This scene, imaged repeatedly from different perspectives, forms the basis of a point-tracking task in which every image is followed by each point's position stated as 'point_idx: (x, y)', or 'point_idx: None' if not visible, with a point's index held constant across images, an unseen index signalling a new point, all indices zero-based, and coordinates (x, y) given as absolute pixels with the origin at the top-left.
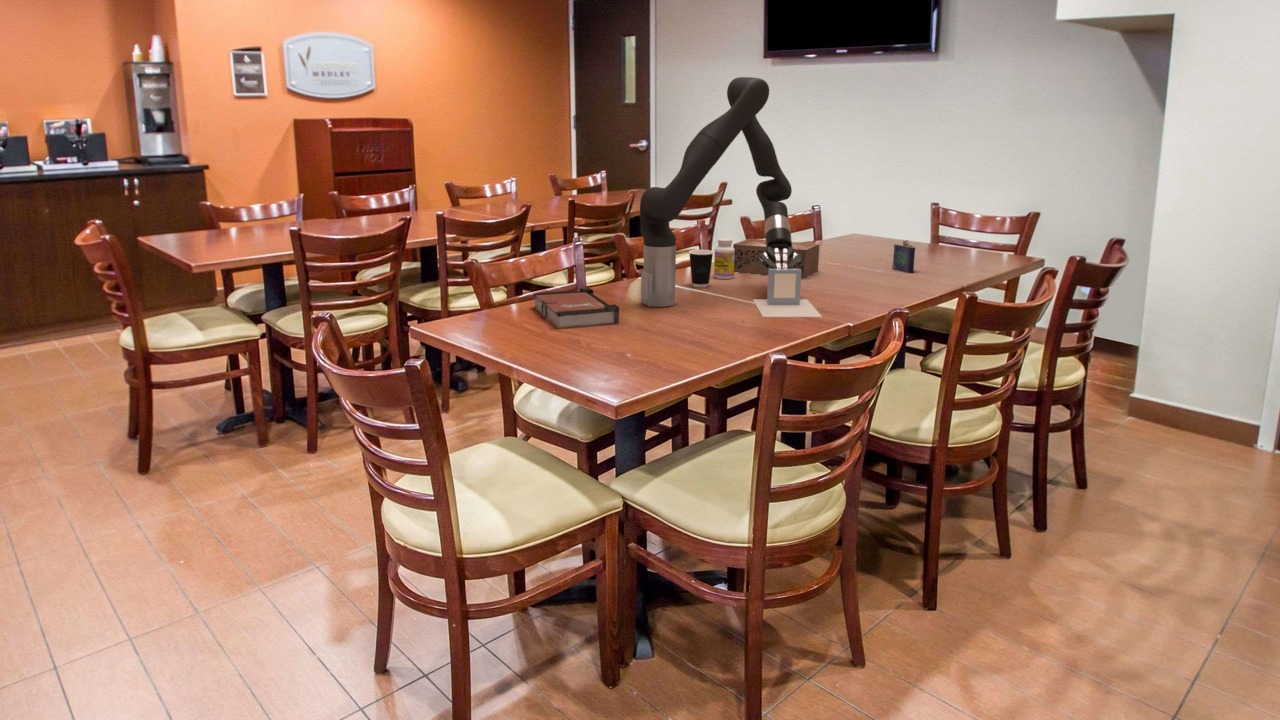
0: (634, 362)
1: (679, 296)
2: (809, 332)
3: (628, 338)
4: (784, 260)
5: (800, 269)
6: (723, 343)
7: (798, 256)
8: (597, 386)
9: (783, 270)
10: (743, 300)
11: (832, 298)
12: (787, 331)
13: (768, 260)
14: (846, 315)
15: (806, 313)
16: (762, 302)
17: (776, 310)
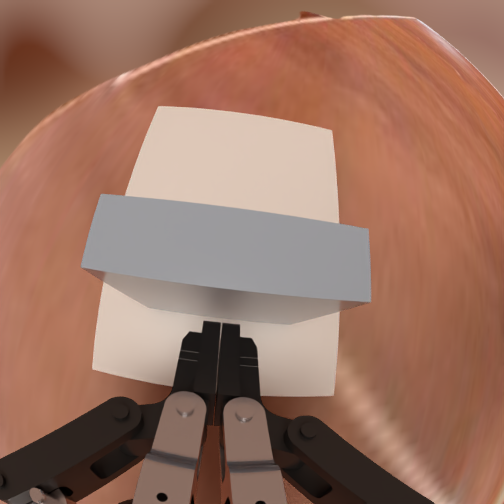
0: (444, 56)
1: (488, 424)
2: (242, 43)
3: (485, 117)
4: (176, 468)
5: (91, 228)
6: (386, 52)
7: (13, 475)
8: (440, 38)
9: (254, 211)
10: (359, 408)
11: (8, 387)
12: (285, 54)
13: (356, 479)
14: (73, 143)
15: (186, 139)
16: (307, 332)
17: (279, 188)
